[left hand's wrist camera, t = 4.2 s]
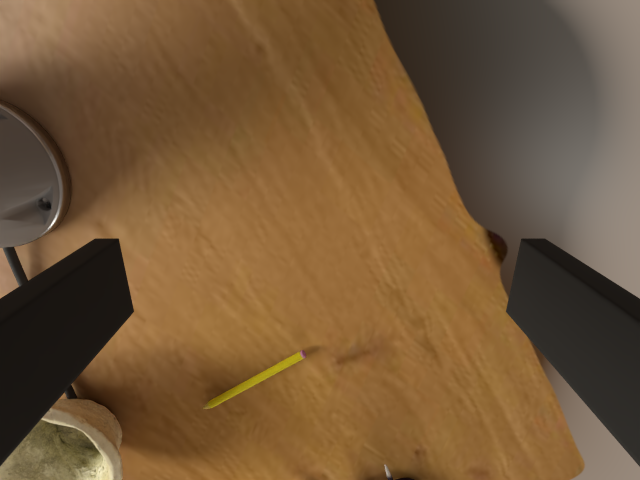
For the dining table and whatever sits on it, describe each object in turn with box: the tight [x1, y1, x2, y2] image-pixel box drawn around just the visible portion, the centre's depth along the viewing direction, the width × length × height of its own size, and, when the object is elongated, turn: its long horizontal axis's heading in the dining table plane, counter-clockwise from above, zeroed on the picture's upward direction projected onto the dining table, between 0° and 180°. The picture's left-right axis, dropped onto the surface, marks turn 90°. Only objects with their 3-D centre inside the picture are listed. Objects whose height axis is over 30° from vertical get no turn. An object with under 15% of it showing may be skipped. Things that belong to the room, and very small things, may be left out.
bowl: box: [0, 399, 123, 480], centre depth 45 cm, size 14×18×15 cm
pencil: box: [202, 350, 306, 409], centre depth 48 cm, size 16×1×1 cm, turn 123°
